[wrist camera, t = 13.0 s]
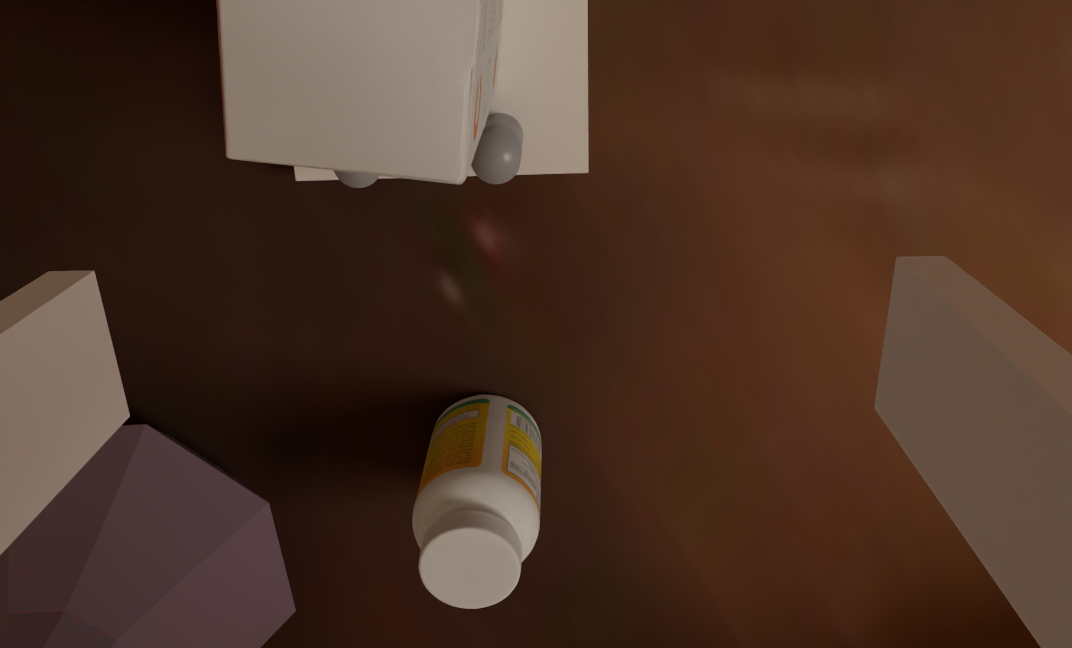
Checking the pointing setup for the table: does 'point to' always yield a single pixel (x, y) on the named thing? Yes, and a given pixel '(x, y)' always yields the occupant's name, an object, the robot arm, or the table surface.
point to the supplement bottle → (478, 501)
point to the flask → (146, 556)
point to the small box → (359, 83)
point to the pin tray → (527, 98)
